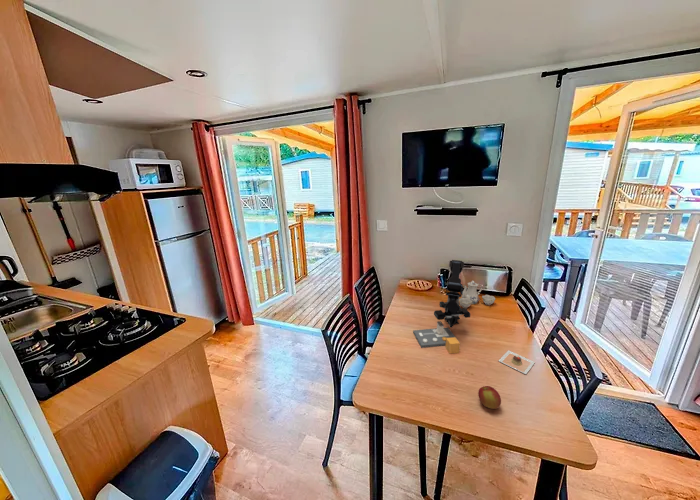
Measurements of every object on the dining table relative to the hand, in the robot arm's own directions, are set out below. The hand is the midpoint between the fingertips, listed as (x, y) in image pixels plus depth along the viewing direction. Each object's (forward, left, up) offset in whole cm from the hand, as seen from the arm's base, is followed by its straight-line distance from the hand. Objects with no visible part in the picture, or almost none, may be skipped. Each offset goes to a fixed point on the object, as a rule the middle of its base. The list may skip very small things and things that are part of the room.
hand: (450, 327), depth 151 cm
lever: (+6, 0, -3) cm, 7 cm away
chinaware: (-32, -32, -5) cm, 45 cm away
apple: (+6, +48, -5) cm, 48 cm away
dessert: (-21, +26, -6) cm, 34 cm away
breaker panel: (+10, +3, -5) cm, 11 cm away
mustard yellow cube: (+5, +14, -5) cm, 15 cm away
